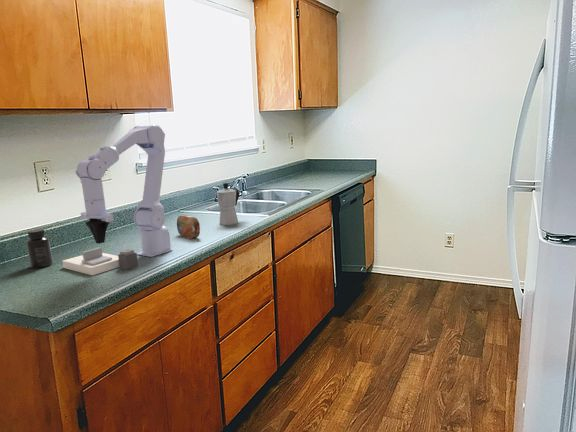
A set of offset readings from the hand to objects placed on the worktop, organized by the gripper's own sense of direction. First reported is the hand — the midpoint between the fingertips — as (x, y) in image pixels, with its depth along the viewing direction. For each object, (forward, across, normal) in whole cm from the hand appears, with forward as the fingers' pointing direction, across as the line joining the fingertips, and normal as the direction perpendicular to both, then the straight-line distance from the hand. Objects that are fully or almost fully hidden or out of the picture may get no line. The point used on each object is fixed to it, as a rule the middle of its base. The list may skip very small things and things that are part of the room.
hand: (100, 242), depth 144 cm
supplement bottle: (+9, -26, -7) cm, 28 cm away
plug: (+9, +5, +6) cm, 12 cm away
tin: (+9, -8, +43) cm, 45 cm away
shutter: (+6, -4, 0) cm, 7 cm away
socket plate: (+9, -7, +1) cm, 11 cm away
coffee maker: (+9, -10, +69) cm, 70 cm away
